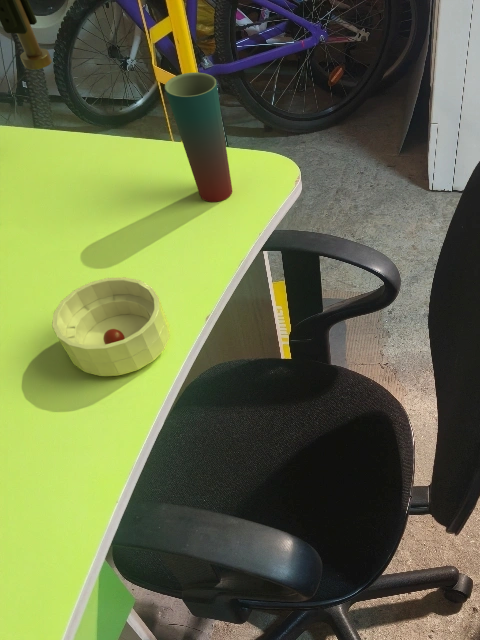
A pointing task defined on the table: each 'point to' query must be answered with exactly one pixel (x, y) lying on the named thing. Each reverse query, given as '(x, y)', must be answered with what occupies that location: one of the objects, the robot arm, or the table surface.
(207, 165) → the cup
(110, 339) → the red ball
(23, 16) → the masher
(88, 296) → the bowl
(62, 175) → the table surface
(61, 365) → the table surface
